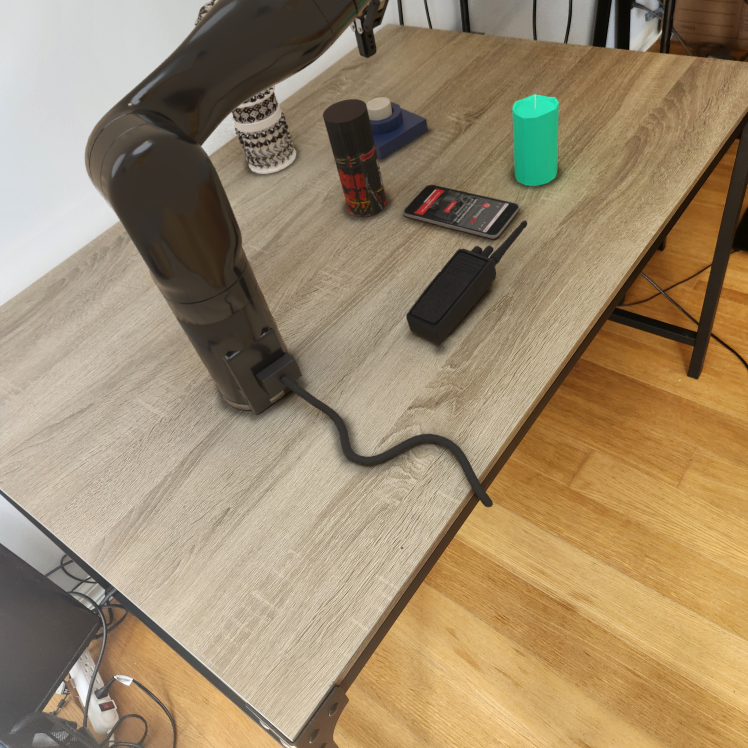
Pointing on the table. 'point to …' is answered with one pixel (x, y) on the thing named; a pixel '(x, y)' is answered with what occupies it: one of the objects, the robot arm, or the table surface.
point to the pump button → (379, 108)
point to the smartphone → (462, 211)
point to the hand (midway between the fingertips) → (368, 54)
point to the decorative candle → (261, 127)
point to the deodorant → (355, 157)
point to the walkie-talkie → (456, 290)
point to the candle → (535, 139)
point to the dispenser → (396, 130)
